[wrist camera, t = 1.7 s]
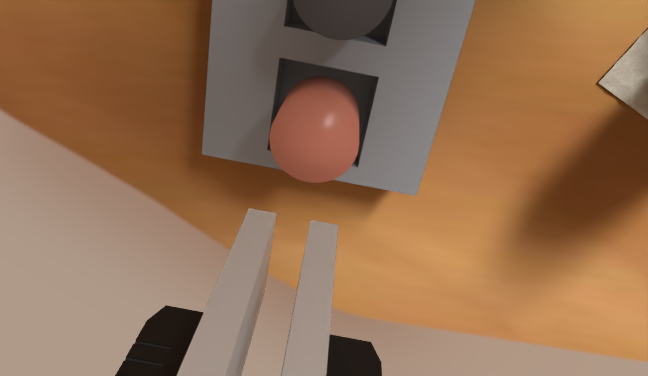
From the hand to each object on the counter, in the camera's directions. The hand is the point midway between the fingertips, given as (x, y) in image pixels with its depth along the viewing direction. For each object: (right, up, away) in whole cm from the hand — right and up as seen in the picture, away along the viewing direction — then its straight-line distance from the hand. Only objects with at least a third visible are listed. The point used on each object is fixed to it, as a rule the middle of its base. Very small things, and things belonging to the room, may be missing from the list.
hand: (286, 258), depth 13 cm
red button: (+1, +6, +12) cm, 13 cm away
